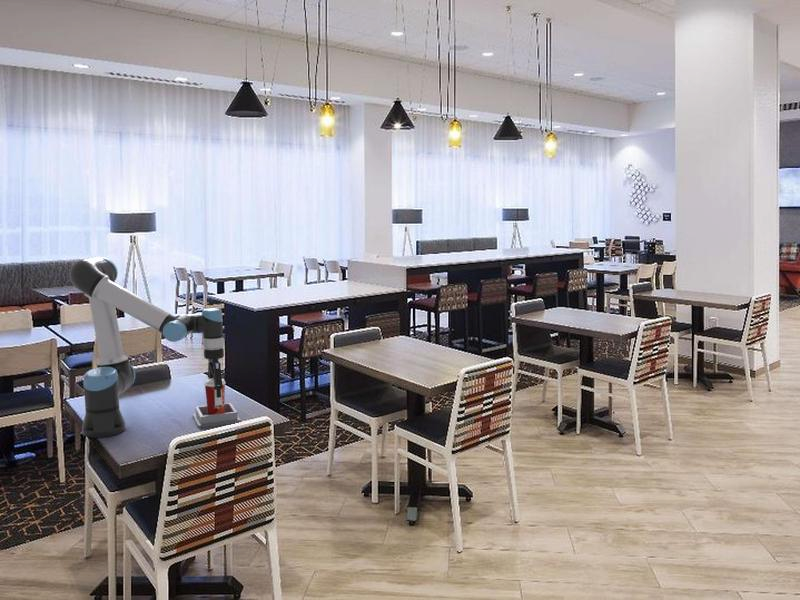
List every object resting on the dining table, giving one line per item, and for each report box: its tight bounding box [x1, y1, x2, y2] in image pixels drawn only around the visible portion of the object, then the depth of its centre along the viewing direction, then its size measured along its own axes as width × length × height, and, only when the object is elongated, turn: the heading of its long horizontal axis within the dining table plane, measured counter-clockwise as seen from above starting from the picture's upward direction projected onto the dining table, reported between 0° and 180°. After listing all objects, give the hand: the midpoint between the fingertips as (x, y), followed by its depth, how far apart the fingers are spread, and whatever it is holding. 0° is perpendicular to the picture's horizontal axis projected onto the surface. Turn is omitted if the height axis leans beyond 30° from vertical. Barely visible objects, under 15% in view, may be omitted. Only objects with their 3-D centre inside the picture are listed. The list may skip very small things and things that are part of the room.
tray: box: [192, 402, 242, 429], centre depth 267 cm, size 16×16×4 cm
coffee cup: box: [203, 378, 226, 415], centre depth 266 cm, size 8×8×15 cm
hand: (215, 400), depth 267 cm, fingers open, 13 cm apart
